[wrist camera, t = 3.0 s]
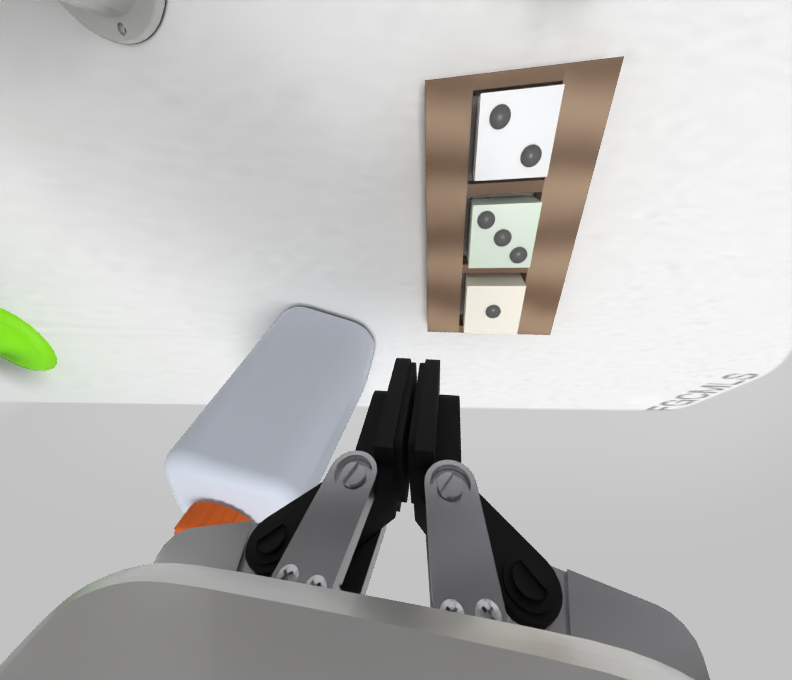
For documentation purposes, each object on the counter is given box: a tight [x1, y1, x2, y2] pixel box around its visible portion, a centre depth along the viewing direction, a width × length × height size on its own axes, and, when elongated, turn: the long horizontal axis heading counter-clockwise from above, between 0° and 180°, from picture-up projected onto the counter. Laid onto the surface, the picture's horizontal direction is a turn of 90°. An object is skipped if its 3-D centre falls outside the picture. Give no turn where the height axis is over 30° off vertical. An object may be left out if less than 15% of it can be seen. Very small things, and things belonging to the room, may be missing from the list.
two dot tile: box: [472, 84, 565, 181], centre depth 25 cm, size 6×6×4 cm
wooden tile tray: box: [425, 56, 624, 335], centre depth 31 cm, size 25×15×3 cm, turn 4°
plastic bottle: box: [165, 307, 374, 535], centre depth 35 cm, size 15×15×28 cm
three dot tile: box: [467, 196, 542, 268], centre depth 30 cm, size 6×6×4 cm
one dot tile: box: [463, 273, 526, 335], centre depth 34 cm, size 6×6×4 cm
